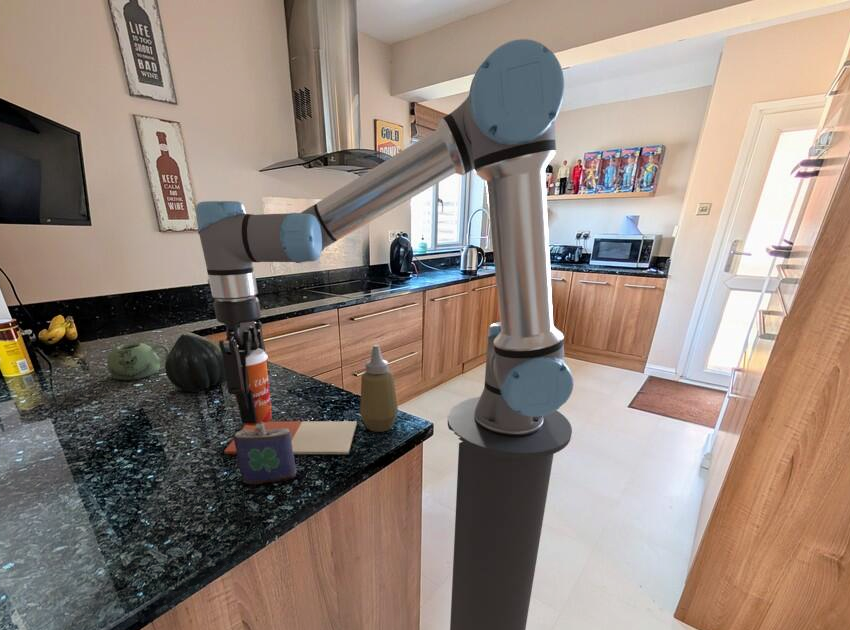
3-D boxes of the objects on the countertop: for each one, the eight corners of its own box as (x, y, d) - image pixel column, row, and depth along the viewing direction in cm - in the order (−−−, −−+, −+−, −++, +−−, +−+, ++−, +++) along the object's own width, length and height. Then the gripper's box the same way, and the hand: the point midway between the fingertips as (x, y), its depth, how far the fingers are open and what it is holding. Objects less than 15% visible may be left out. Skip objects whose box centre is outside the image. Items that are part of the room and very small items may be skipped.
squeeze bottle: (384, 413, 89) (381, 337, 82) (405, 427, 83) (404, 346, 76) (353, 424, 85) (348, 344, 78) (374, 439, 79) (369, 354, 72)
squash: (235, 372, 100) (217, 322, 103) (169, 387, 93) (153, 333, 96) (235, 391, 112) (219, 346, 115) (177, 406, 105) (162, 357, 108)
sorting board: (357, 423, 85) (356, 421, 85) (348, 454, 74) (348, 451, 74) (248, 423, 86) (248, 421, 86) (224, 454, 75) (223, 451, 75)
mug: (110, 386, 107) (100, 356, 104) (111, 372, 117) (102, 344, 114) (175, 373, 115) (168, 345, 112) (171, 361, 125) (164, 335, 122)
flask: (297, 470, 70) (289, 417, 65) (295, 481, 67) (286, 426, 63) (244, 474, 69) (232, 421, 64) (239, 485, 66) (227, 430, 62)
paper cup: (246, 432, 74) (232, 362, 68) (230, 419, 79) (217, 352, 73) (284, 419, 78) (274, 352, 73) (267, 407, 84) (257, 344, 78)
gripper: (237, 288, 78) (256, 393, 87) (185, 309, 60) (215, 439, 69) (274, 288, 78) (289, 393, 87) (233, 309, 60) (257, 439, 69)
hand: (256, 413), depth 78 cm, fingers closed on paper cup, 6 cm apart
